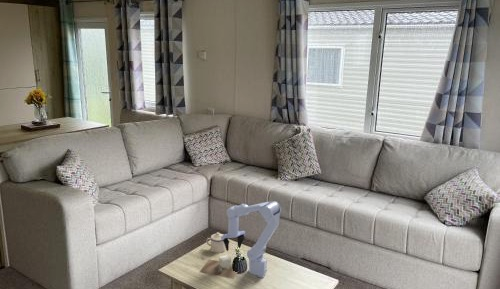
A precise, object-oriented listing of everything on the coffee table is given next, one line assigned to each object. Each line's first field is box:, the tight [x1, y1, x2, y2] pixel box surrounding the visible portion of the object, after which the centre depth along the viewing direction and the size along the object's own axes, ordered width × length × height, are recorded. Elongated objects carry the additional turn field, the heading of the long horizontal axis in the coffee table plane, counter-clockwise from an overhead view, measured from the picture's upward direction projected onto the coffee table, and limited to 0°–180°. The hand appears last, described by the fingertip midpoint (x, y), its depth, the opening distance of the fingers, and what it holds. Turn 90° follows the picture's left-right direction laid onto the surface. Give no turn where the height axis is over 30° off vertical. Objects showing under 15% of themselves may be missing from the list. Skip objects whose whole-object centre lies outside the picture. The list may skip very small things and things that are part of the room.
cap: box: [218, 254, 232, 268], centre depth 226 cm, size 5×5×4 cm
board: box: [199, 258, 239, 279], centre depth 223 cm, size 20×14×4 cm
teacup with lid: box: [205, 231, 226, 254], centre depth 244 cm, size 12×9×12 cm
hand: (233, 248), depth 228 cm, fingers open, 7 cm apart
